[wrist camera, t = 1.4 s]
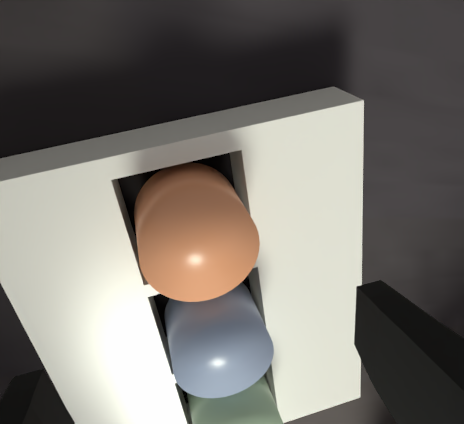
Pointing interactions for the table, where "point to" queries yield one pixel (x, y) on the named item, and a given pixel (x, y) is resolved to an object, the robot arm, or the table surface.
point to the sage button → (237, 407)
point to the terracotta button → (193, 233)
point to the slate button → (218, 343)
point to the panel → (141, 293)
